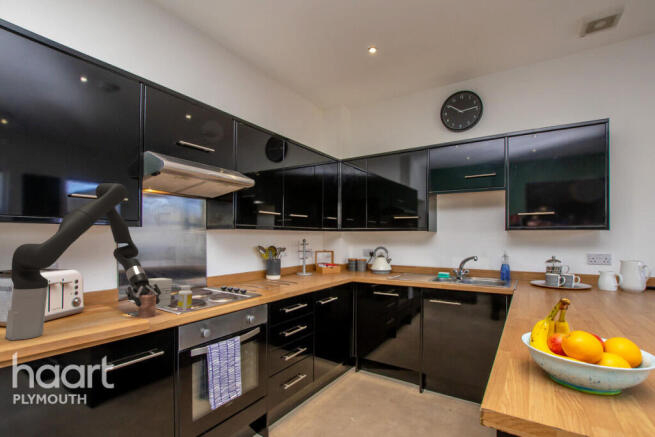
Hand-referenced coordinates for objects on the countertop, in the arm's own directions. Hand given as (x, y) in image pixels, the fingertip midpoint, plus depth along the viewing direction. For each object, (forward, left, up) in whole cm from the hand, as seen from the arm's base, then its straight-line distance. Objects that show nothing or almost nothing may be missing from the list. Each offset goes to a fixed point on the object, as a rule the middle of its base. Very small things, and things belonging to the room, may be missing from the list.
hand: (149, 304), depth 146 cm
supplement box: (+18, +21, -6) cm, 29 cm away
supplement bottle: (+19, 0, -6) cm, 20 cm away
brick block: (0, +1, -6) cm, 6 cm away
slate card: (0, +11, -6) cm, 13 cm away
